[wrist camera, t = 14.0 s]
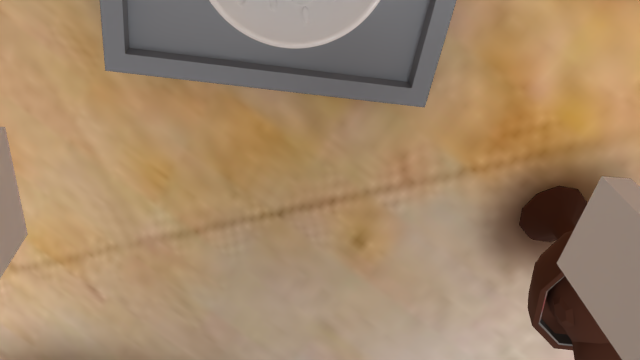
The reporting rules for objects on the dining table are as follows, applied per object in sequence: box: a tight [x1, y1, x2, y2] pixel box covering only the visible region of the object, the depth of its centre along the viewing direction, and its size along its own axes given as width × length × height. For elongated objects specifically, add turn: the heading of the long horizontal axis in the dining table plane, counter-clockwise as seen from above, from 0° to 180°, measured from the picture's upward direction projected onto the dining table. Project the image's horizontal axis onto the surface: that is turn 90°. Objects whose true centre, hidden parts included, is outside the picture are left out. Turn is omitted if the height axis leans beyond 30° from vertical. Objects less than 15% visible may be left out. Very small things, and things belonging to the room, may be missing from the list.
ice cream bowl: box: [519, 186, 622, 360], centre depth 36 cm, size 11×11×15 cm
